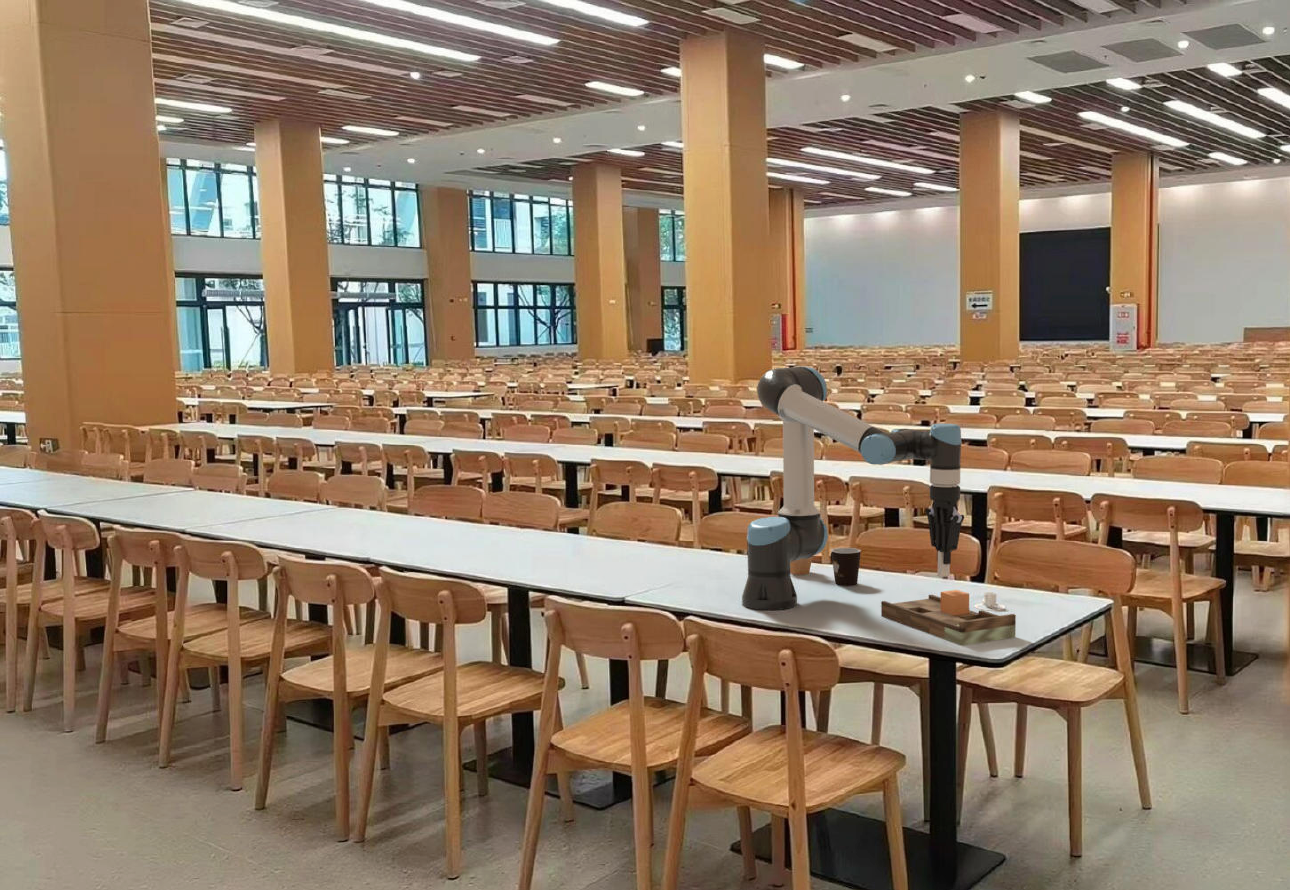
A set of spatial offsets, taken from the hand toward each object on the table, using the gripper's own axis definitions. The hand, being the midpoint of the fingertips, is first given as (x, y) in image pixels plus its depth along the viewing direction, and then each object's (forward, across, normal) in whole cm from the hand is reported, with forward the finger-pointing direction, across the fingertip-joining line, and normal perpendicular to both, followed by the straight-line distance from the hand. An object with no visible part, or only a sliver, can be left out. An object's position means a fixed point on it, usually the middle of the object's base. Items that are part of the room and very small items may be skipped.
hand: (943, 575), depth 311 cm
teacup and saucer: (+12, +5, -23) cm, 27 cm away
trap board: (+12, -5, +3) cm, 13 cm away
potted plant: (+13, +70, +1) cm, 71 cm away
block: (+9, -4, 0) cm, 10 cm away
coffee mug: (+13, +50, -3) cm, 52 cm away
